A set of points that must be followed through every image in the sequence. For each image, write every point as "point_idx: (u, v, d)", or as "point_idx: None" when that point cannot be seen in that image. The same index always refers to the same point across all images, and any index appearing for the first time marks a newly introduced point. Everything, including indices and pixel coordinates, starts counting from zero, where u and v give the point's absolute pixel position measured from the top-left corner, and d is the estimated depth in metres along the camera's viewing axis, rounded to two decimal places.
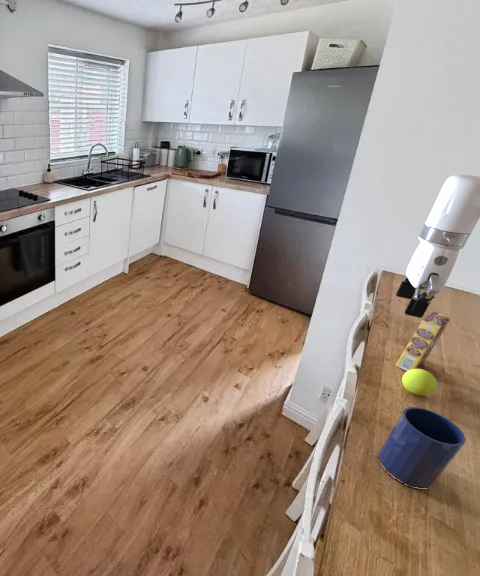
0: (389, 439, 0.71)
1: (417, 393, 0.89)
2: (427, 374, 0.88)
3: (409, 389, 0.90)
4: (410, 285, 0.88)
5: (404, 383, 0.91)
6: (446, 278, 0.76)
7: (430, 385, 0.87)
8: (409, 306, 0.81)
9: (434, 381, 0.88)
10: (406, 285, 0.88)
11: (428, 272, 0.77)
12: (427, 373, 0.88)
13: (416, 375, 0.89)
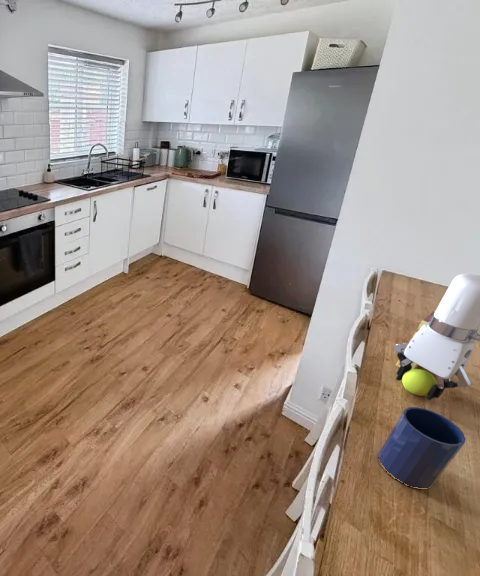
0: (389, 439, 0.71)
1: (417, 393, 0.89)
2: (427, 374, 0.88)
3: (409, 389, 0.90)
4: (408, 369, 0.92)
5: (404, 383, 0.91)
6: None
7: (430, 385, 0.87)
8: (433, 393, 0.87)
9: (434, 381, 0.88)
10: (406, 370, 0.92)
11: (459, 365, 0.82)
12: (427, 373, 0.88)
13: (416, 375, 0.89)
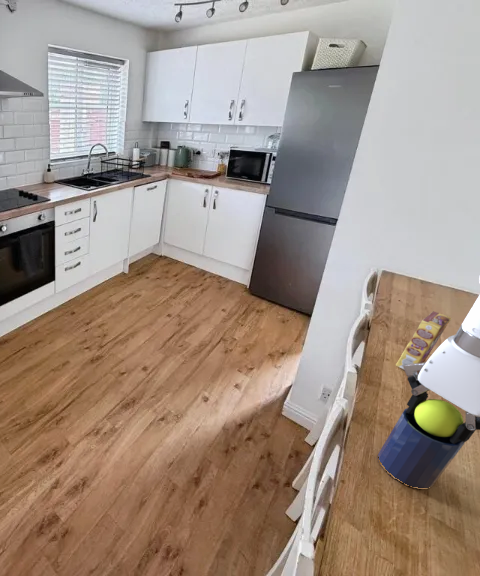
0: (389, 439, 0.71)
1: (435, 434, 0.64)
2: (451, 408, 0.63)
3: (425, 428, 0.65)
4: (423, 399, 0.67)
5: (417, 419, 0.66)
6: None
7: (454, 424, 0.62)
8: (459, 435, 0.62)
9: (460, 418, 0.63)
10: (420, 400, 0.67)
11: None
12: (450, 406, 0.64)
13: (435, 409, 0.64)
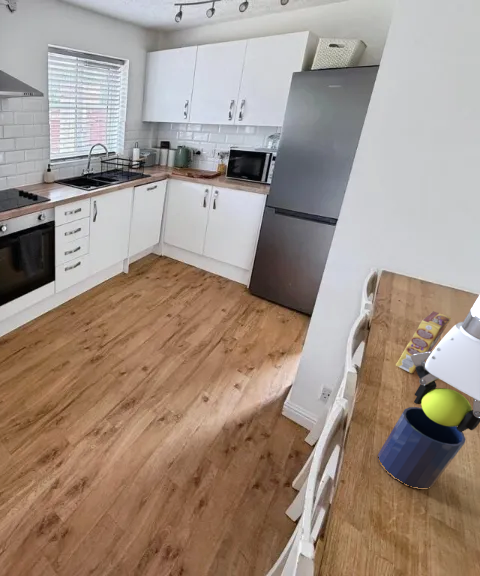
0: (389, 439, 0.71)
1: (443, 424, 0.63)
2: (459, 397, 0.62)
3: (432, 417, 0.64)
4: (431, 388, 0.66)
5: (425, 408, 0.65)
6: None
7: (463, 413, 0.61)
8: (466, 423, 0.61)
9: (468, 407, 0.61)
10: (428, 390, 0.66)
11: None
12: (458, 395, 0.62)
13: (442, 398, 0.63)
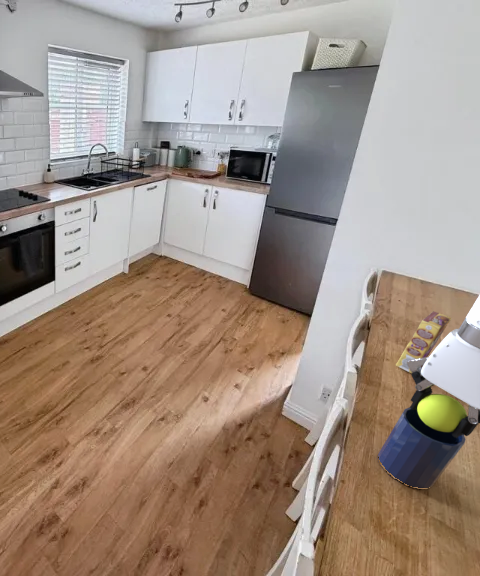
0: (389, 439, 0.71)
1: (439, 429, 0.64)
2: (454, 403, 0.63)
3: (428, 423, 0.65)
4: (427, 394, 0.66)
5: (420, 414, 0.65)
6: None
7: (458, 419, 0.62)
8: (461, 429, 0.61)
9: (464, 413, 0.62)
10: (424, 396, 0.66)
11: None
12: (453, 401, 0.63)
13: (438, 404, 0.63)
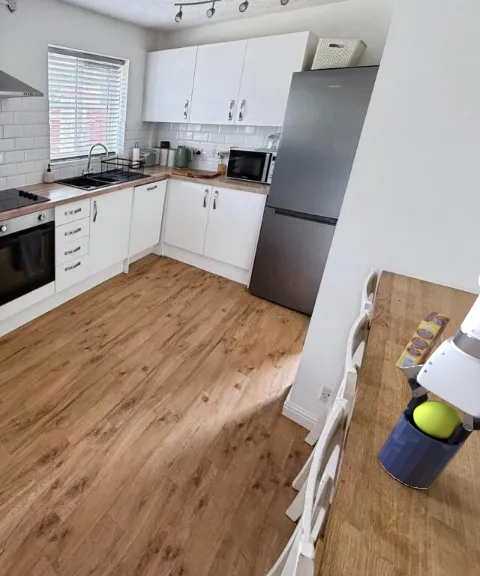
0: (389, 439, 0.71)
1: (434, 436, 0.64)
2: (450, 410, 0.63)
3: (424, 429, 0.65)
4: (423, 401, 0.67)
5: (416, 420, 0.66)
6: None
7: (453, 425, 0.62)
8: (457, 436, 0.62)
9: (459, 420, 0.63)
10: (420, 402, 0.67)
11: None
12: (449, 408, 0.64)
13: (434, 411, 0.64)
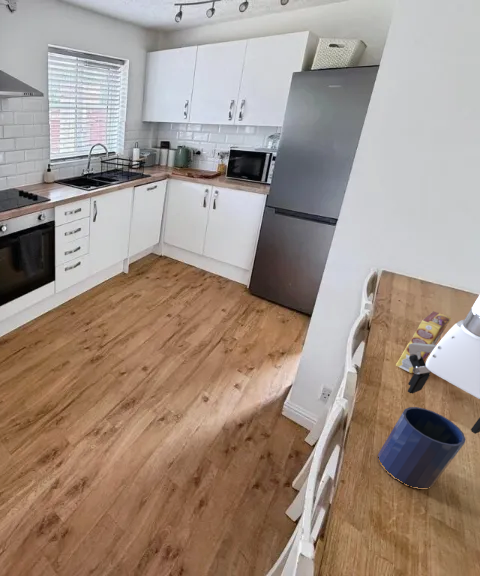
0: (389, 439, 0.71)
1: None
2: None
3: None
4: (425, 377, 0.67)
5: None
6: None
7: None
8: None
9: None
10: (422, 379, 0.66)
11: None
12: None
13: None
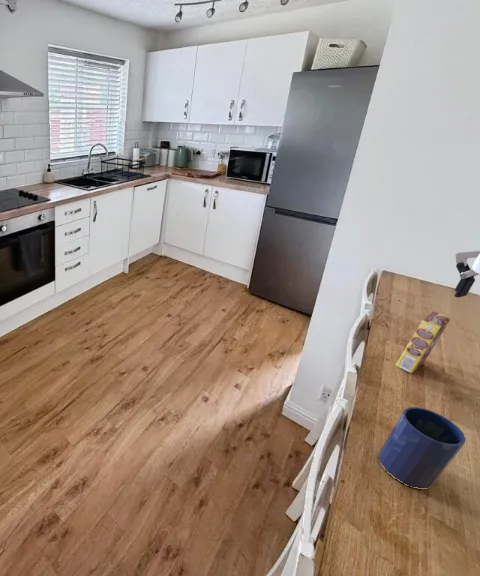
0: (389, 439, 0.71)
1: None
2: None
3: None
4: (471, 282, 0.75)
5: None
6: None
7: None
8: None
9: None
10: (468, 283, 0.75)
11: None
12: None
13: None
